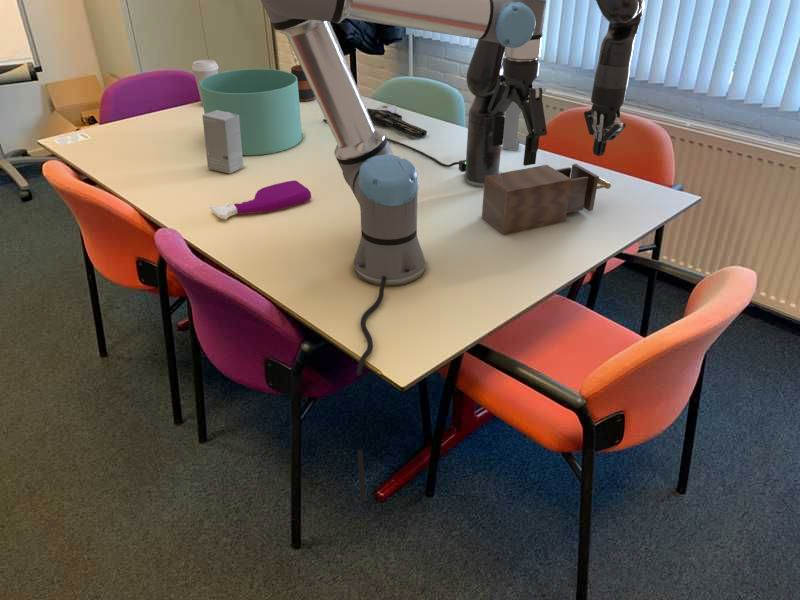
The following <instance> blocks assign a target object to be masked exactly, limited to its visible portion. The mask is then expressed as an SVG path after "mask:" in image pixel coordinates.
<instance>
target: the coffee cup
mask: <svg viewBox="0 0 800 600" xmlns="http://www.w3.org/2000/svg"><path fill="white" fill-rule="evenodd" d="M218 69H219V64H217V61H216V60H214V59H200V60H195V61H193V62H192V65H191V71H193V75H194V79H195V82H196V86H197V91H198V94H199V98H200V103H201V105H202V106H203V102H202V96H201V90H200V82H201V81H202V80H203V79H204V78H206V77H208V76H211V75H214V74H217V73H219V70H218Z"/></svg>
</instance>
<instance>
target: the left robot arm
mask: <svg viewBox="0 0 800 600" xmlns="http://www.w3.org/2000/svg"><path fill="white" fill-rule="evenodd" d="M260 2H261V4H262V6H263V8H264V10H265V12H266V15H267V16H268V18H269V20H270V22H271V25H272V27H273V29H274V31H275V32H277V33H279V34H282V35H285V36H286V37H287V40H288V42H289V44H290V46H291V49H292V50H293V52H294V55H295V57H296V59H297V61H298V64H299V65H301V67H302V70H303V72H304V74H305V76H306V78H307V80H308V82H309V85H310V87H311V89H312V91H313V93H314V95H315V97H314V98H315V99H316V102H317V104H318V106H319V108H320V110H321V112H322V115H323V117H324V119H325V120H326V121H327V122H326V123H327V126H328V127H329V129H330V131H331V133H332V136H333V138H334V140H335V142H336V146H335V149H334V152H333V153H334V154H333V155H334V157H335V158H336V161H337V163H338V165H339V168H340V169H341V171H342V176H343V179H344V180H345V182H346V184H347V185H348V186H349V188H350V189H351V191H352V193H353V195H354V197H355V199H356V201H357V203H358V204H359V209H360V211H359V212H360V239H359V242H358V247H357V249H356V252H355V256H354V259H353V270H354V273H355V275H356V276H357V277H358V278H359V279H360V280H362V281H364V282H366V283H369V284H370V285H371V284H372V285H376V286H379V291H378V296H377V299H376V301H375V302H374V303H373V304H372V305H371V306H370V307H369V308H368V309H367V310H366V311H364V313H363V315H362V316H361V318H360V328H361V331H362V333H363V334H364V336H365V338H366V341H367V348H366V350H365V351H364V353H362V355H361V357H360V358H359V360H358V362H357V363H358V364H357V367H356V376H357V377H360V376H361V375H362V373H363V368H364V364H365V362H366V360H367V359H368V357H369V355H370V354H371V353H372V351H373V348H374V343H373V338H372V336H371V334H370V332H369V330H368V328H367V325H366V321H367V318H368V317H369V316H370V314H372V313H373V312H374V311H375V310H376V309H377V308H378V307H379V305H380V304H381V303H382V301H383V298H384V294H385V287H395V286H402V285H406V284H410V283H413V282H415V281H417V280H418V279H420V278H421V276H423V274H424V273H425V270H426V261H425V255H424V252H423V250H422V247H421V244H420V241H419V238H418V195H419V194H418V193H419V192H418V191H419V187H420V186H419V185H420V184H419V179H418V171H417V169H416V167H415V165H414V164H413V163H412V162H411V161H410V160H408V159H406V158H401V157H400V156H398V155H394V152H393V150H392V148H391V145H390V143H389V141H388V140H387V138H388V137H387V136H386V133H385V131H384V130H383V129H381V128H378V127H375V126H374V123H373V120H371V118H370V116H369V113H368V111H367V107H366V103H365V102H364V99H363V97H362V95H361V93H360V90H359V88H358V85H357V83H356V81H355V78H354V75H353V72H352V71H351V68H350V66H349V64H348V62H347V58H346V56H345V54H344V52H343V50H342V48H341V45H340V43H339V39H338V37H337V35H336V33H335V31H334V28H333V26H332V23H333V24H340V23H341V22H342V21H344V20H345V19H350V20H354V21H355V20H356V21H363V22H368V23H375V24H381V25H387V26H393V27H401V28H407V29H412V30H418V31H419V30H420V31H425V32H430V33H437V34H442V35H451V36H455V37H463V38H468V39H475V40H478V39H479V40H483V41H490V42H496V43H500V44H501V45H502V46H504V47H505V51H504V58H505V59H504V66H503V75H499V76H498V81H497V86H496V88H495V91H494V94H493V96H492V99H491V101H490V104H489V107H488V112H491V113H492V117H493V125H492V129H493V130H492V142H491V145H492V146H498V145H501V146H503V137H504V126H505V115H506V110H507V109H508V107H509V106H510V104H511V103H512V102H515V103H516V104H518V107H519V108H520V109H521V113H522V115H523V120H524V123H525V127H526V130H527V133H528V134H527V135H526V136H525V144H524V153H523V163H522V165H523V166H524V167H526V166H531V165H536V161H537V153H538V150H539V144H540V137H545V136H547V135H548V129H547V124H546V123H547V122H546V116H545V109H544V102H543V87H534V81H535V80H536V79H537V78H538V77H539V71H540V63H541V61H540V59H539V58H540V57H541V52H542V51H541V50H542V42H543V41H542V40H543V34H544V25H545V17H546V10H547V4H548V0H260ZM494 105H496V106H494ZM501 116H504V117H501ZM363 454H364V453H363V450H362V449H361V450H358V451H357V464H358V465H357V467H358V483H359V501H360V503H361V504H364V503H365V502H366V496H365V495H366V494H365V493H366V492H365V476H364V472H365V471H364V455H363Z"/></svg>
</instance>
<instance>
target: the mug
mask: <svg viewBox="0 0 800 600" xmlns="http://www.w3.org/2000/svg"><path fill="white" fill-rule="evenodd" d="M290 73H292V74H293V75H295V76H296V77H297V81H298V92H299V102H310V101H312V100H315V98H316V97H315V95H314V93H313V91H312V89H311V87H310V85H309V82H308V80H307V78H306V76H305V74H304V72H303V70H302V67H301V65H300V64H296V65H293V66H291V68H290Z"/></svg>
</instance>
